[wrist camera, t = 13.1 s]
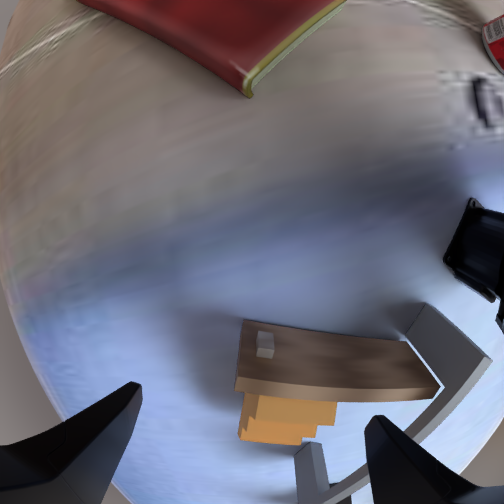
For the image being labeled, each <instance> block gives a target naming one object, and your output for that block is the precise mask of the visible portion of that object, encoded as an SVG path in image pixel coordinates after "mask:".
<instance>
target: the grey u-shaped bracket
mask: <svg viewBox="0 0 504 504" xmlns="http://www.w3.org/2000/svg"><path fill="white" fill-rule="evenodd" d="M405 336H406V338H407V339H408V340H409V341H410V343H411V344H412V345H413V346H414V348H415V349H416V350H417V351H418V353H419V354H420V355H421V356H422V358H423V359H424V360H425V361H426V363H427V364H428V365H429V367H430V368H431V369H432V371H433V372H434V373H435V375H436V376H437V377H438V379H439V380H440V381H441V383H442V384H443V385H444V387H445V388H444V389H443V391H442V392H441V393H440V394H439V395H438V396H437V398H436V399H435V400H434V401H433V402H432V403H431V404H430V405H429V406H428V407H427V409H426V410H425V411H424V412H423V413H422V414H421V415H420V416H419V417H418V418H417V419H416V420H415V421H414V422H413V423H412V424H411V425H410V426H409V427H408V428H407V429H406V430H405V431H403V432H404V433H405V434H407V435H408V436H409V437H410V438H411V439H413V440H414V441H415V442H416V443H417V444H420V443H421V442H422V441H423V440H424V439H425V438H426V437H427V436H428V435H429V434H431V433H432V432H433V431H434V430H435V429H436V428H437V427H438V426H439V425H440V424H441V423H442V422H443V421H444V420H445V419H446V418H447V417H448V415H449V414H450V413H451V412H452V411H453V410H454V409H455V408H456V407H457V406H458V405H459V403H460V402H461V401H462V400H463V399H464V398H465V396H466V395H467V394H468V393H469V392H470V390H471V389H472V388H473V387H474V386H475V384H476V383H477V382H478V380H479V379H480V378H481V377H482V375H483V374H484V373H485V371H486V370H487V368H488V367H489V366H490V364H491V363H492V360H491V359H490V358H489V357H488V356H487V355H486V354H485V353H484V352H483V351H482V350H481V349H480V348H479V347H478V346H477V345H476V344H475V343H474V342H473V341H472V340H471V339H470V338H469V337H467V336H466V335H465V334H464V333H463V332H462V331H461V330H460V329H459V328H458V327H457V326H455V325H454V324H453V323H452V322H451V321H450V320H449V319H448V318H446V317H445V316H444V315H443V314H442V313H441V312H440V311H438V310H437V309H436V308H434V307H433V306H431V305H429V304H428V303H426V304H425V306H424V307H423V309H422V310H421V312H420V314H419V315H418V317H417V318H416V320H415V321H414V323H413V324H412V326H411V327H410V329H409V330H408V331H407V333H406V334H405ZM294 464H295V475H296V485H297V497H298V504H336V503H337V502H339V501H341V500H343V499H344V498H346V497H348V496H349V495H351V494H353V493H354V492H356V491H357V490H359V489H361V488H362V487H364V486H365V485H367V484H368V483H370V477H369V472H368V466H367V463H366V464H364V465H363V466H362V467H360V468H359V469H358V470H356V471H355V472H354V473H352V474H351V475H349V476H348V477H346V478H345V479H344V480H342V481H341V482H339V483H338V484H336V485H335V486H333V487H331V488H330V486H329V481H328V475H327V470H326V465H325V459H324V454H323V449H322V444H320V443H314V442H309V443H308V444H307V445H306V446H305V447H304V448H303V449H301V450H300V451H299V452H298V453H297V454H295V455H294Z"/></svg>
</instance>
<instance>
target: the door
mask: <svg viewBox="0 0 504 504" xmlns="http://www.w3.org/2000/svg"><path fill="white" fill-rule="evenodd" d="M440 387H441V386H440V385H439V384H438V382H437V381H436V380H435V378H434V377H433V376H432V374H431V373H430V372H429V370H428V369H427V368H426V366H425V365H424V364H423V362H422V361H421V360H420V358H419V357H418V356H417V354H416V353H415V352H414V351H413V349H412V348H411V347H410V345H409V344H408V343H407V342H406V341H396V340H384V339H374V338H364V337H355V336H346V335H338V334H330V333H323V332H316V331H309V330H302V329H295V328H289V327H283V326H277V325H271V324H265V323H259V322H254V321H248V320H243V325H242V329H241V335H240V343H239V352H238V361H237V370H236V378H235V387H234V391H237V392H243V393H250V394H256V395H264V396H271V397H280V398H289V399H300V400H313V401H330V402H395V401H411V400H423V399H433V397H434V396H435V394H436V393H437V391H438V390H439V388H440Z"/></svg>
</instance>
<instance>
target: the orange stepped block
mask: <svg viewBox="0 0 504 504" xmlns="http://www.w3.org/2000/svg"><path fill="white" fill-rule="evenodd" d="M336 408H337V402H330V401H313V400H300V399H289V398H280V397H271V396H264V395H256V394H250V393H245V395H244V401H243V406H242V412H241V418H240V423H239V429H238V436H239V438H240V440H244V441H252V442H261V443H271V444H284V445H301V441H302V437H308V438H315V436H316V430H317V425H328V426H334V422H335V415H336Z"/></svg>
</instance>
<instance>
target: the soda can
mask: <svg viewBox="0 0 504 504" xmlns="http://www.w3.org/2000/svg"><path fill="white" fill-rule="evenodd" d="M482 40H483V44H484V46H485V49H486V51H487V53H488V55H489V57H490V58H491V60H492V61H493V63H494V64H495V66H496V67H497V68H498V69H499V70H500V71H501V72H502V73H503V74H504V14H503V15H501V16H499V17H497V18H495V19H494V20H492V21H490V22H488V23H486V24H485V25H484V26H483V28H482Z"/></svg>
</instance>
